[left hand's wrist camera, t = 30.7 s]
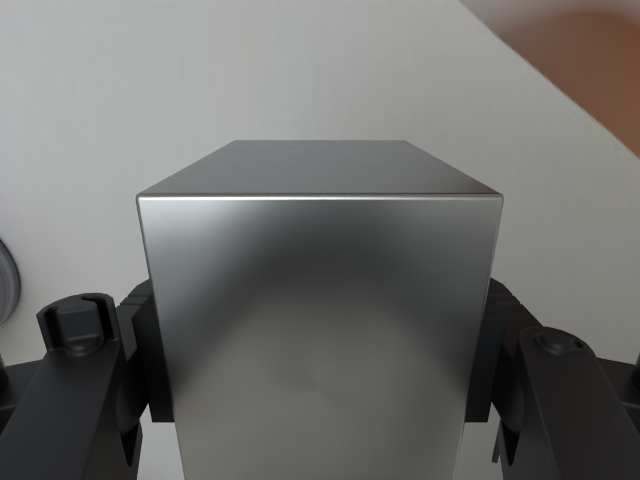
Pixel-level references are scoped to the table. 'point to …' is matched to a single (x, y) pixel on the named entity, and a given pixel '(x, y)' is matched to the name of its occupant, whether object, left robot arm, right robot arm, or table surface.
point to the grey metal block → (319, 307)
